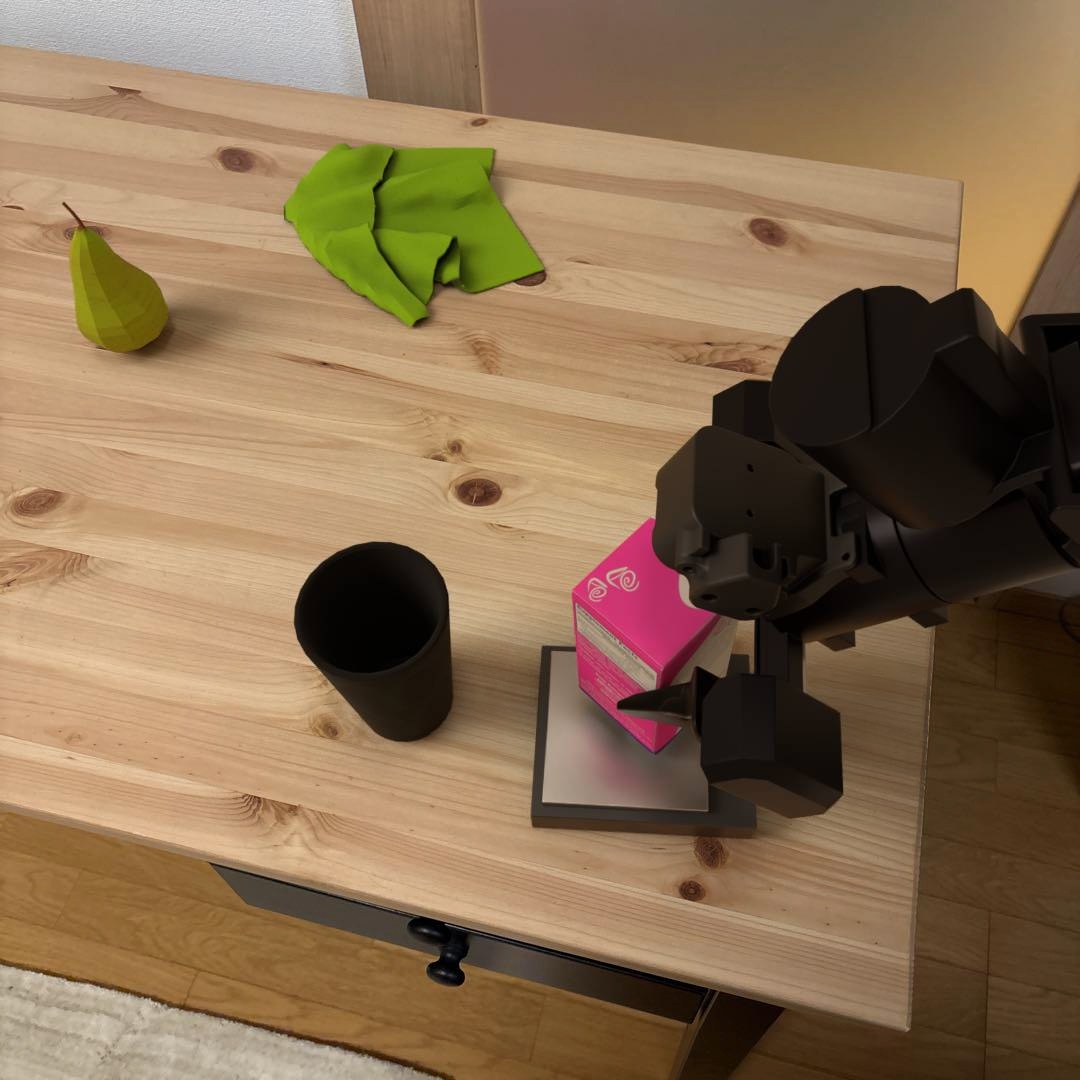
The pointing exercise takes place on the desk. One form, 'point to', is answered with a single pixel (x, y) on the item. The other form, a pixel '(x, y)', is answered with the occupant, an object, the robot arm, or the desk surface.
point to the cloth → (408, 224)
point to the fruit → (112, 295)
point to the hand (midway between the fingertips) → (628, 630)
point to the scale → (621, 768)
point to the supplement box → (643, 633)
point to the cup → (381, 636)
